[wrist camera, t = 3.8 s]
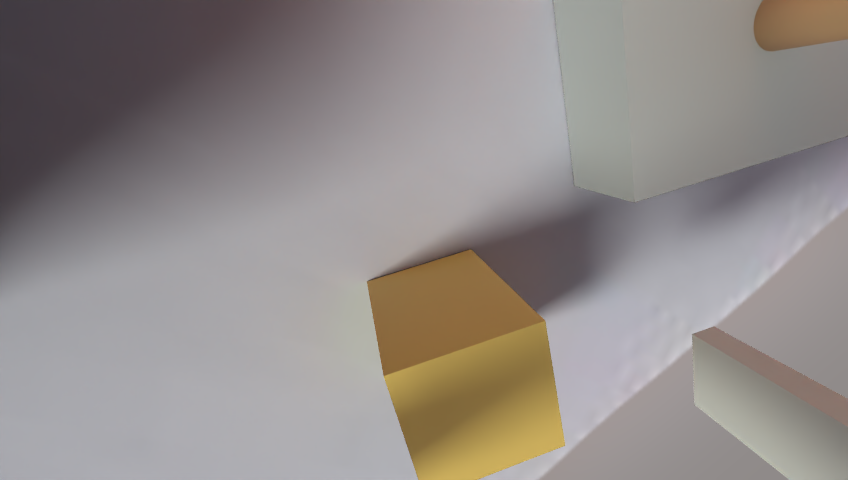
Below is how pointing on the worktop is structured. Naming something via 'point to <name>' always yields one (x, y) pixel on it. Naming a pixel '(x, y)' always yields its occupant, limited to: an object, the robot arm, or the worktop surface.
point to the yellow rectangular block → (465, 368)
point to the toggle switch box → (697, 87)
